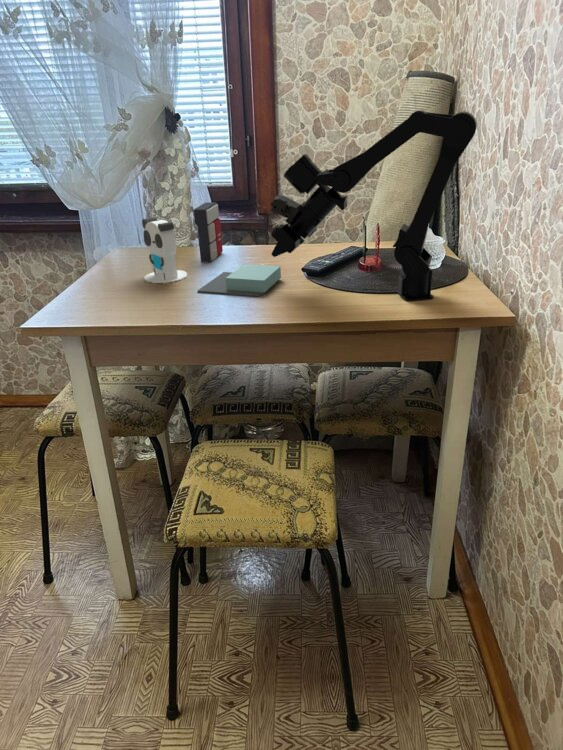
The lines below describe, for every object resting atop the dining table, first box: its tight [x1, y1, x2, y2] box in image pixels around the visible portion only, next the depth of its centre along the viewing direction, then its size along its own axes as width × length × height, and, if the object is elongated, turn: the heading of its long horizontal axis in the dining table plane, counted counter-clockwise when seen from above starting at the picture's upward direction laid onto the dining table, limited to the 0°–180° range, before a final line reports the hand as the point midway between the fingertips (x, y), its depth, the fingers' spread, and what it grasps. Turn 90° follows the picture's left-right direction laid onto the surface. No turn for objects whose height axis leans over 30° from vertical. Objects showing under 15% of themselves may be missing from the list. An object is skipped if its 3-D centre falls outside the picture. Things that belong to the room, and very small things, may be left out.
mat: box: [197, 271, 264, 298], centre depth 144 cm, size 16×16×1 cm
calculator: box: [192, 201, 223, 263], centre depth 165 cm, size 11×4×15 cm, turn 168°
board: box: [226, 263, 282, 294], centre depth 142 cm, size 3×12×10 cm
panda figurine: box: [141, 216, 188, 284], centre depth 149 cm, size 12×11×15 cm
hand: (273, 255), depth 137 cm, fingers closed
